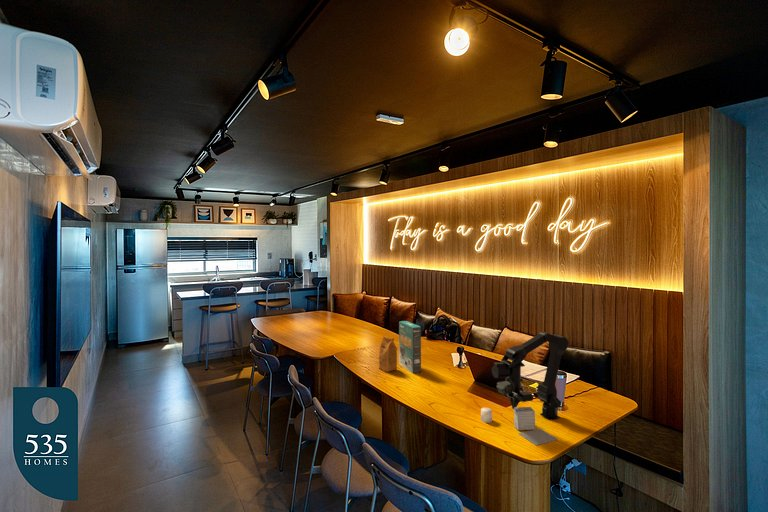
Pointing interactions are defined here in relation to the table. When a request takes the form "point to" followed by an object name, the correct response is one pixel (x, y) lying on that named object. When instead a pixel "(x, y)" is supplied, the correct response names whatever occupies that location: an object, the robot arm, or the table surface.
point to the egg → (486, 415)
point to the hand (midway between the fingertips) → (514, 409)
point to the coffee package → (387, 355)
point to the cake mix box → (410, 346)
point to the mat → (538, 436)
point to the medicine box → (524, 418)
